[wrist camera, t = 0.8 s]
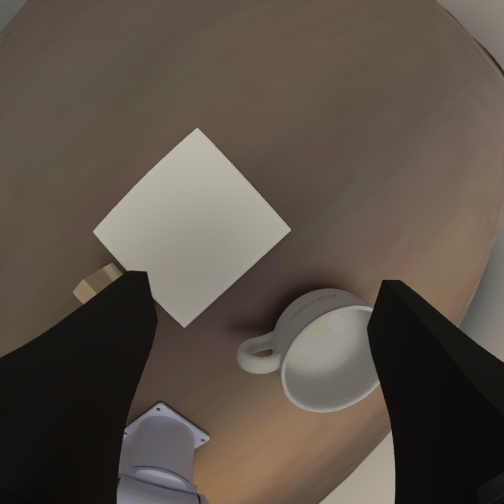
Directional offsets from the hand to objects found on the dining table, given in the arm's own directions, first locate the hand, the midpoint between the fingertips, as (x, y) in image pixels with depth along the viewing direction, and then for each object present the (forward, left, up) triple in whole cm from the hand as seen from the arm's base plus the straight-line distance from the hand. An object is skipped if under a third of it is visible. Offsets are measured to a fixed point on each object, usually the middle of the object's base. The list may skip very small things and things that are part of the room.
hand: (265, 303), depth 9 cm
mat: (-2, +3, -19) cm, 19 cm away
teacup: (-1, -12, -19) cm, 22 cm away
